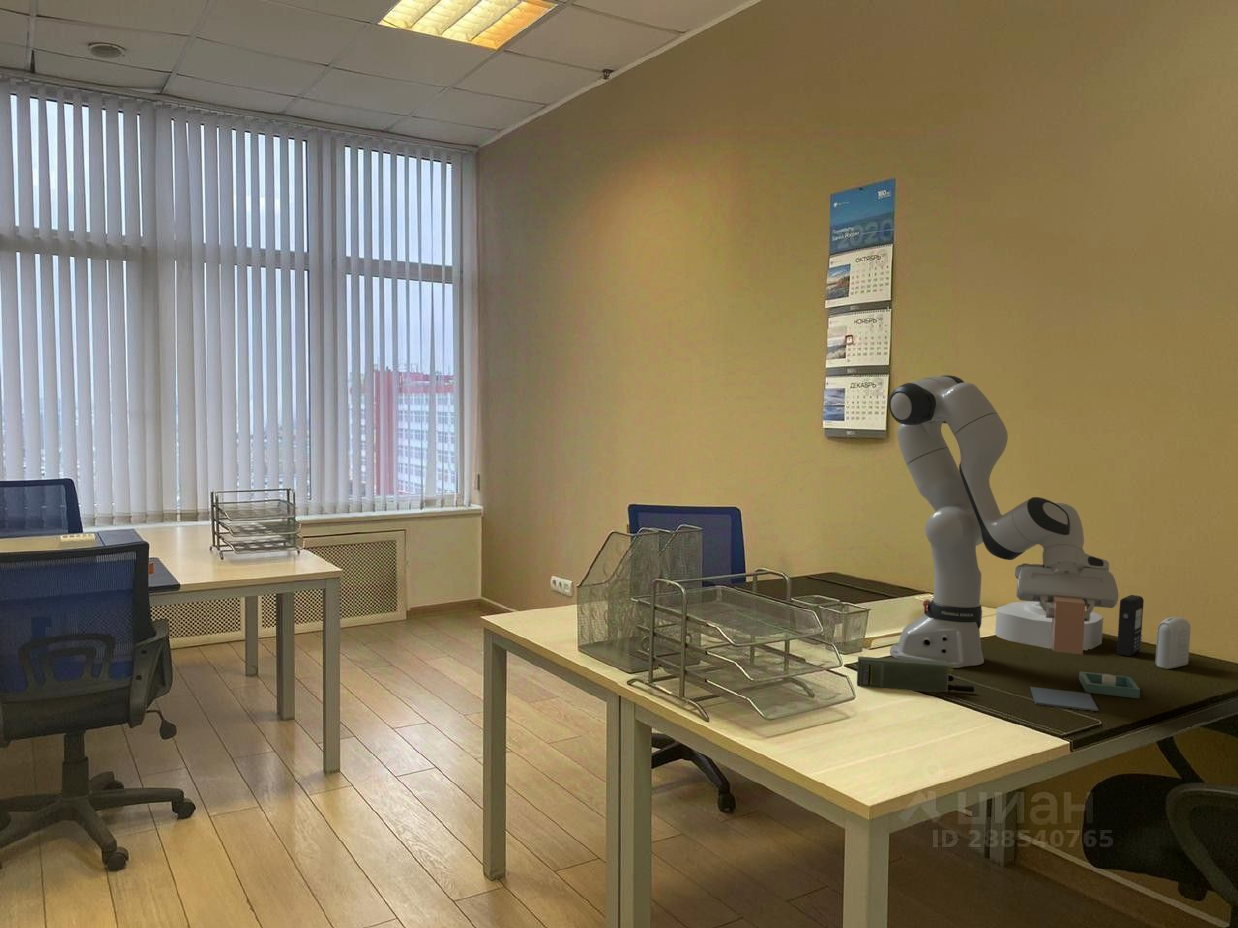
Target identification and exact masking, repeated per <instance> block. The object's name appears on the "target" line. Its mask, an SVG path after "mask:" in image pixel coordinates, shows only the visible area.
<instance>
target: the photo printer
mask: <svg viewBox="0 0 1238 928" xmlns="http://www.w3.org/2000/svg"><path fill="white" fill-rule="evenodd" d="M1190 639H1191V624H1190V622H1189V620H1187V619H1186V618H1183V617H1178V616H1171V617H1167V618H1166V619H1163V620H1162V621H1161V622H1160V623H1159V624H1158V625H1157V632H1156V649H1155V660H1154V661H1155V662H1154V663H1155V665H1156V667H1158V668H1161V669H1173V668H1174V669H1175V668H1179V667H1184V666H1187V665H1188V664H1189V658H1190V657H1189V655H1190Z"/></svg>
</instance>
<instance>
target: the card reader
mask: <svg viewBox="0 0 1238 928" xmlns="http://www.w3.org/2000/svg"><path fill="white" fill-rule="evenodd" d="M1144 602H1145V601H1144V598H1143V596H1142V595H1141V596H1140V595H1134V594H1130V595H1127V596H1126V597H1123V598H1121V599H1120V601H1119V611H1118V613H1119V614H1118V627H1117V628H1118V629H1117V645H1116V646H1117V647H1116V651H1117V654H1118V655H1121V656H1124V657H1132V656H1134V655H1135V654H1136V653H1139V652H1140V650H1141V648H1142V639H1143V638H1142V637H1143V635H1142V631H1143V615H1144Z"/></svg>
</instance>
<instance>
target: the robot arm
mask: <svg viewBox="0 0 1238 928" xmlns="http://www.w3.org/2000/svg"><path fill="white" fill-rule="evenodd" d="M888 408H889V409H888V410H889V412H890V415H891V417H892V418H893V420H895V421H896V422H897V423H898V424H899V425H898V427H897V429H896V436H897V441H898V444H899V448H900V452H901V455H902V457H903V460H904V461H905V464H906V467H907V468H908V470H909V473H910V475H911V477H912V479H913V482H914V484H915V486H916V488H917V491H918V492H919V494H920V495H921V496H922V497H923V498H924V499H925V500H926V501H927V502H928V503H929V505H930V506H931V507H932V508H933V510H934V511H935V512H934V513H932V514H931V515H930V516H929V517H928V519H927V521H926V522H925V528H924V530H925V536H926V539H927V540H928V542H929V544H930V548H931V549H930V550H931V555H932V560H933V568H934V571H933V572H934V573H933V574H934V578H933V600H930V599H929V598H928V599H924V600H923V602H922V606H923V607H924V609H923V611H924V615H922V616H921V617H920V616H919V618H917V619H915V620H914V621H912V622H910V623H909V624H907V625H906V626H905V627H904V628H903V629H902V632H901V634H900V636H899V641H898V642H897V643H894V644H892V645H891V646H890V649H889V654H890V656H891V657H893V658H894V659H902V660H917V661H932V662H946V663H953V666H949V668H953V669H954V668H955V669H959V668H964V667H972V666H979V665H982V664H984V663H985V659H984V656H983V652H982V644H981V643H982V642H981V631H980V629H981V626H982V622H983V621H982V619H983V609H982V608H983V607H982V605H981V596H982V595H981V593H982V573H981V570H980V568H979V565H978V557H977V551H976V550H977V549H976V547H977V546H979V545H981V544H983V545H984V547H985V548H986V550H987V551H988V552H989V553H990V554H991V555H992V556H995V557H996V558H998V559H1002V560H1007V561H1013V560H1015V559H1016V558H1018V557H1020V556H1021V555H1022V554H1024V553H1025V552H1026V551H1028V550H1029V549H1031V548H1033V547H1035V546H1037V545H1039V546H1040V547H1042V548H1043V551H1042V564H1041V563H1040V564H1036V563H1035V564H1034V563H1033V564H1031V563H1022V564H1019V565H1017V566H1016V567H1015V568H1014V576H1015V578H1016V579H1017V583H1016V597H1017V598H1018V600H1019V601H1021V602H1032V601H1034V602H1040V606H1041V607H1042V609H1043V610H1044V611H1045V612H1046V618H1053V616H1054V608H1050V607H1049V606H1048V604H1047V603H1053V596H1057V597H1069V598H1081V599H1082V600H1083V601H1084V602H1085V610H1086V611H1085V620H1084V621H1088V622H1089V620H1090V613H1091V612H1094V608H1106V609H1113V608H1115V606H1117V604H1118V601H1119V591H1118V590H1119V589H1118V586H1117V585H1118V584H1117V581H1116V578H1115V577H1114V576H1115V575H1113V574H1112V572H1111V571H1110V563H1109V561H1108V560H1106V559H1104V558H1099V557H1096V556H1093V555H1090V554H1088V553H1086V552H1085V550H1084V548H1083V547H1084V543H1085V536H1084V528H1083V525H1082V520H1081V518H1080V514H1079V513H1078V511H1077V510H1076V509H1075V508H1074V507H1073V506H1072V505H1069V504H1066V503H1065V502H1064V503H1063V502H1062V503H1061V502H1053V501H1051V500H1049V499H1046V498H1043V497H1038V496H1035V497H1033V496H1032V497H1031V498H1028V499H1026V500H1025V501H1023V502H1021V503H1020V504H1017V506H1015V507H1014V508H1012V509H1010V510H1009V511H1007V512H1006V513H1004V514H1002V513H1001V511H1000V509H999V506H998V503H997V501H996V498H995V496H994V494H993V491H992V488H991V484H990V479H991V478H990V477H991V474H992V471H993V469H994V467H995V466H996V463H997V462H999V459H1000V458H1001V456H1002V455H1003V453H1004V452H1005V450H1006V447H1007V445H1008V438H1009V437H1008V436H1009V434H1008V430H1007V428H1006V425H1005V423H1004V422H1003V420H1002V418H1001V417H1000V415H999V414H998V412H997V410H996V409H995V407H994V406H993V404H992V403H991V402H990V400H989V399H988V398H987V396H986V395H985V394H984V393H983V392H982V391H981V390H980V389H979V388H978V387H977V386H976V385H975V384H974V383H971V382H965V381H964V380H963V379H962V378H959V377H958V376H955V375H947V374H944V375H940V376H929V377H923V378H921V379H918V380H915V381H913V382H907V383H906V382H905V383H903V384H901V385H899V386H898V387H896V388H895V389H893V390H892V392H891V393H890V396H889V399H888ZM943 424H947V426H948V427H949V429H950V431H951V433H952V435H953V436H954V438H955V439H956V441H957V444H958V449H959V453H960V454H959V455H960V462H959V464H957V463H956V461H955V459H954V456H953V454H952V452H951V450H950V449H949V448H950V447H949V446H948V444H947V442H946V441H945V438H944V436H943V432H942V425H943ZM958 465H959V467H958Z"/></svg>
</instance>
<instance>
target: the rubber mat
mask: <svg viewBox="0 0 1238 928" xmlns="http://www.w3.org/2000/svg"><path fill="white" fill-rule="evenodd" d="M1030 692H1031V696H1032V697H1033V701H1034V703H1035V705H1036V704H1037V705H1038V706H1044V705H1046V706H1045V707H1052V706H1053V707H1054V708H1061V709H1062V708H1063V709H1068V708H1072V709H1071V710H1077V709H1079V710H1078V711H1085V710H1090V711H1089V712H1093V711H1098V712H1099V708H1098V707H1097V704H1096V702H1095V701H1094V699H1093V697H1092V696H1091V693H1088V692H1077V691H1070V690H1061V689H1060V690H1059V689H1051V688H1043V687H1038V686H1037V687H1035V686H1030Z"/></svg>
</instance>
